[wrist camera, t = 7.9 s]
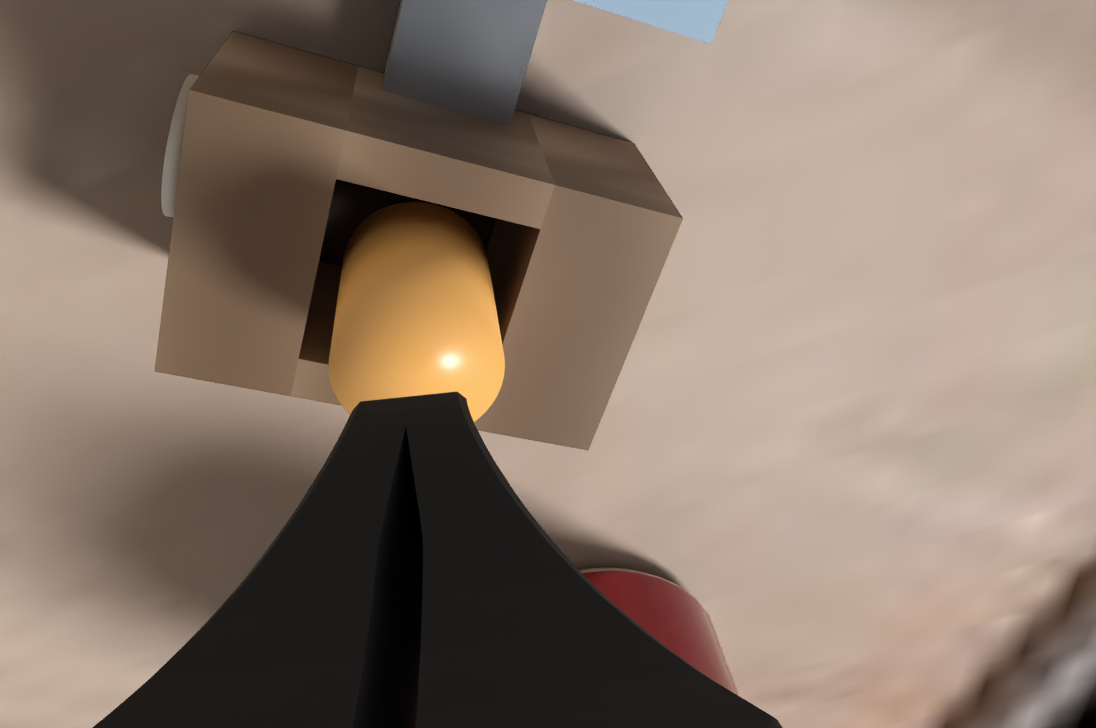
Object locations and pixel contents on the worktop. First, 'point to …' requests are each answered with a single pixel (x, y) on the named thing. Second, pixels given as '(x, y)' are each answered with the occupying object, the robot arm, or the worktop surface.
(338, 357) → the plunger
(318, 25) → the worktop surface
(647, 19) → the block
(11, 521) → the worktop surface
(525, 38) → the rail
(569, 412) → the brown wooden block
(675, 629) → the soda can
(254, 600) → the robot arm
